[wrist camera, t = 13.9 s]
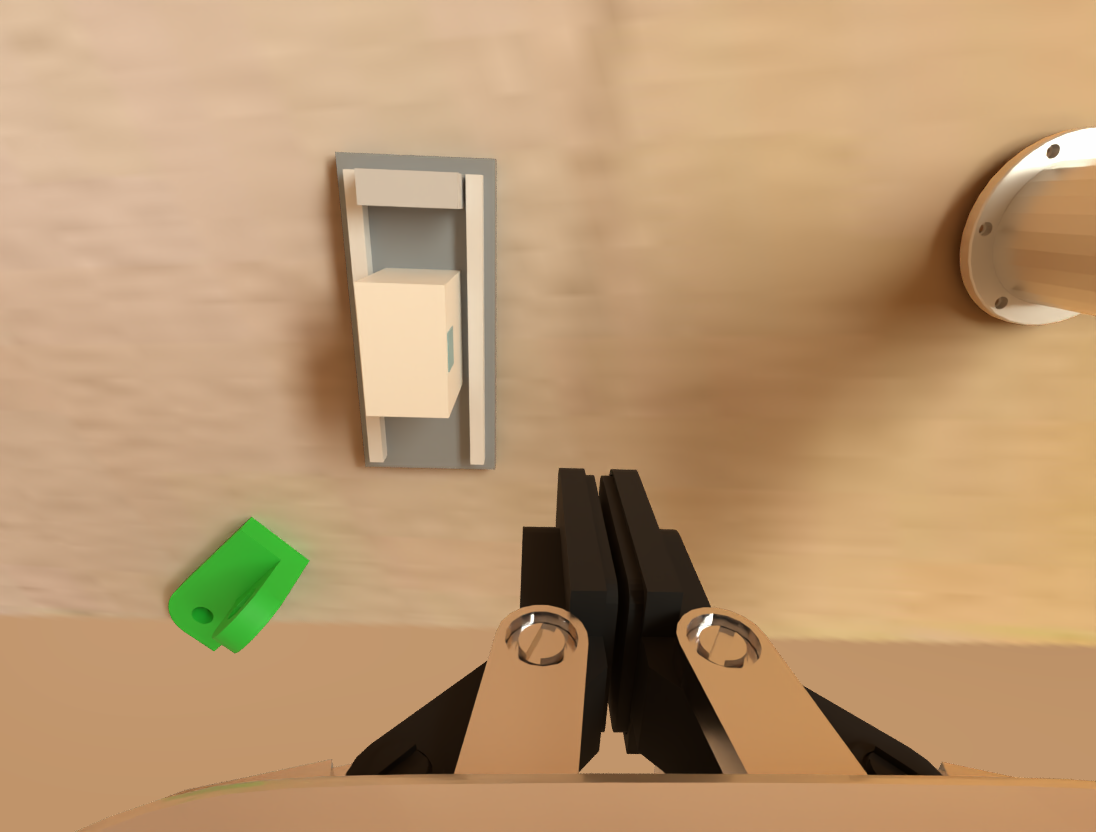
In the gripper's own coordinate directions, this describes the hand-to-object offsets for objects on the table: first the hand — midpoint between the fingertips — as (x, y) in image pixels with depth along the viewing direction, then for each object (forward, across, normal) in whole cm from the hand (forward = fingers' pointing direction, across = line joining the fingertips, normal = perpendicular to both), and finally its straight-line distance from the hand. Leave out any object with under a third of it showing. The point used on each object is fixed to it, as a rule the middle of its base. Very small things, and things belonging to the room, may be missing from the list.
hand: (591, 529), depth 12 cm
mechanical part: (+30, +26, +25) cm, 47 cm away
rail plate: (+29, +9, +2) cm, 31 cm away
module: (+28, +9, +2) cm, 29 cm away
